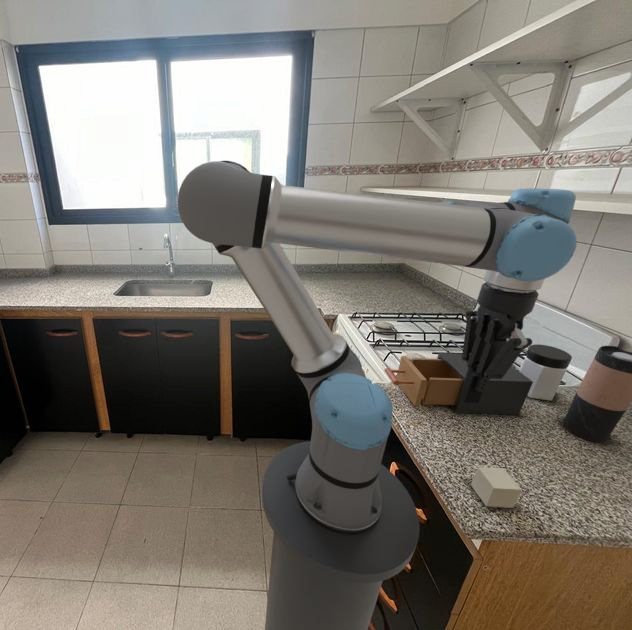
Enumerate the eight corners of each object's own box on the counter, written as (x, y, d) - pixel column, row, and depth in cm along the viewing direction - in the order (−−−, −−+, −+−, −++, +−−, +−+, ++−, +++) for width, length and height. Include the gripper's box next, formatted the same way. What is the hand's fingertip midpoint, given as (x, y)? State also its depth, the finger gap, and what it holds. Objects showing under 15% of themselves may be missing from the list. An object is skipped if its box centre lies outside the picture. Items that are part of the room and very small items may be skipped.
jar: (516, 378, 97) (531, 340, 93) (555, 390, 92) (573, 351, 87) (510, 391, 92) (526, 352, 87) (551, 405, 86) (570, 364, 82)
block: (486, 506, 61) (494, 488, 59) (470, 484, 66) (477, 466, 64) (513, 508, 61) (522, 489, 59) (495, 486, 65) (503, 468, 63)
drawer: (394, 405, 86) (400, 379, 82) (377, 379, 96) (382, 355, 93) (471, 408, 84) (481, 381, 81) (446, 381, 95) (454, 357, 92)
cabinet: (455, 412, 84) (466, 379, 81) (429, 382, 96) (438, 352, 92) (518, 414, 83) (533, 381, 79) (485, 384, 95) (496, 354, 91)
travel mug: (579, 441, 75) (622, 362, 67) (552, 417, 82) (588, 344, 74) (619, 444, 74) (667, 365, 66) (588, 420, 81) (629, 346, 73)
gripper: (568, 300, 52) (514, 423, 61) (504, 274, 64) (466, 381, 73) (517, 300, 52) (471, 422, 62) (463, 274, 64) (431, 380, 74)
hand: (468, 400), depth 67 cm, fingers closed
